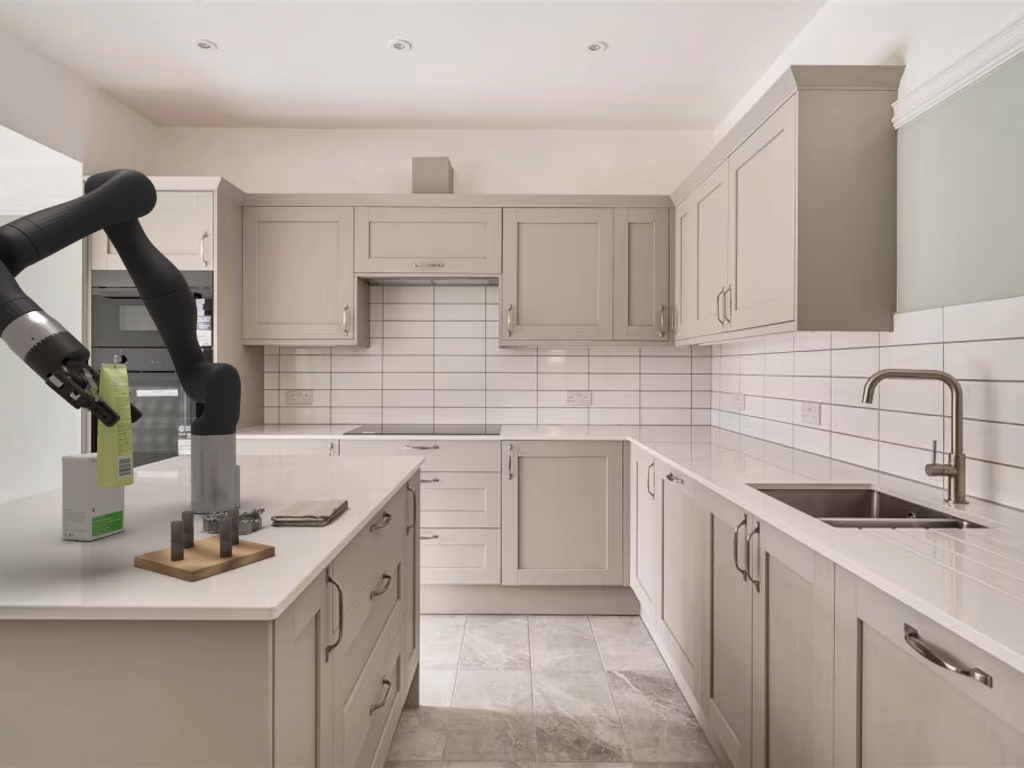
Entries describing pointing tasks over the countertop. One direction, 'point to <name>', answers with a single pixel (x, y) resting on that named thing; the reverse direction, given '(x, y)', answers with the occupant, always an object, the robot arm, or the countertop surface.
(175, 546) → the cradle
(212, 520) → the egg carton
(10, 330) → the robot arm
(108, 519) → the skincare box
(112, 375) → the tube
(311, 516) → the washcloth
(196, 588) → the countertop surface
